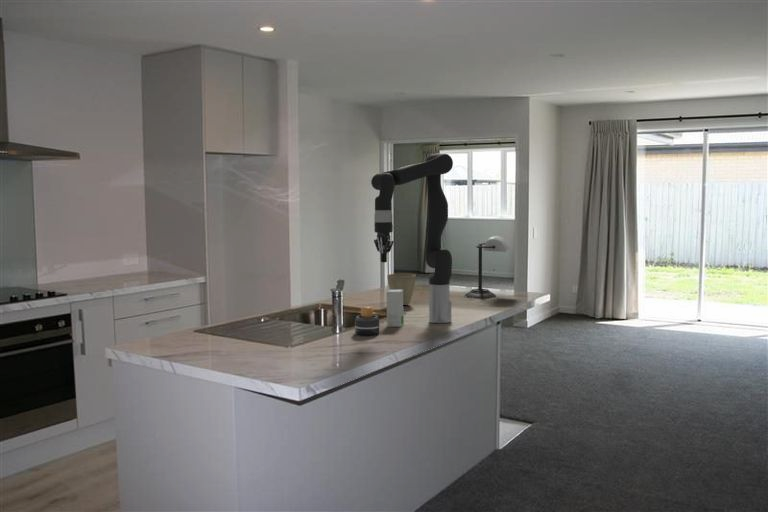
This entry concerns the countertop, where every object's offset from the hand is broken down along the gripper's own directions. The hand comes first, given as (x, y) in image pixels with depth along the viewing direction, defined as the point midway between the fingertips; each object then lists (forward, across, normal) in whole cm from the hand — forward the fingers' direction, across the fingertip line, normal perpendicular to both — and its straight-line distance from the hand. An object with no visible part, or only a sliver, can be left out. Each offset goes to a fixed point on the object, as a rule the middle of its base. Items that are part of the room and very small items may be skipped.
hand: (383, 262), depth 278 cm
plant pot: (+29, +50, -40) cm, 70 cm away
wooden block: (+23, -3, +10) cm, 25 cm away
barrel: (+29, -3, +10) cm, 31 cm away
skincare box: (+29, +6, -9) cm, 31 cm away
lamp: (+29, +50, -96) cm, 112 cm away
